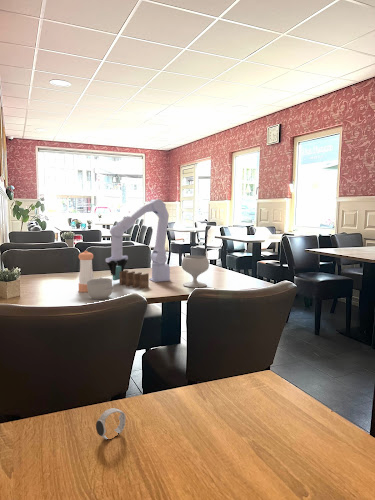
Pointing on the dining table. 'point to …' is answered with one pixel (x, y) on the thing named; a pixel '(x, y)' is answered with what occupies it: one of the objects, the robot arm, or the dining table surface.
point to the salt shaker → (85, 270)
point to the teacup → (99, 288)
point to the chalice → (195, 269)
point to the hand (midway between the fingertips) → (117, 274)
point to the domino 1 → (117, 273)
